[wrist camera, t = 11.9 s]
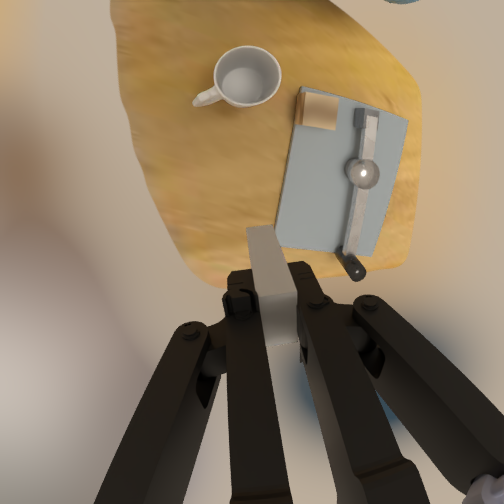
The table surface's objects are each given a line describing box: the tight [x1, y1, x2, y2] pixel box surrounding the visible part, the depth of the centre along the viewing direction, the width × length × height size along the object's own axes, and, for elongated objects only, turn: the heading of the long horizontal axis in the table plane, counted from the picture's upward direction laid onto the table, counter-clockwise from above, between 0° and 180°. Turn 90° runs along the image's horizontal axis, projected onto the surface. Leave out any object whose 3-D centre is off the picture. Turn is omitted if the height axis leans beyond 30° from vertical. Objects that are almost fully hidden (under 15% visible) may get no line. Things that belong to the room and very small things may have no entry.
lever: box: [335, 108, 380, 282], centre depth 37 cm, size 25×4×7 cm, turn 177°
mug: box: [192, 46, 281, 108], centre depth 29 cm, size 10×7×12 cm, turn 114°
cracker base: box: [274, 86, 408, 257], centre depth 40 cm, size 25×18×3 cm
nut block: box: [294, 92, 339, 130], centre depth 33 cm, size 4×4×4 cm
